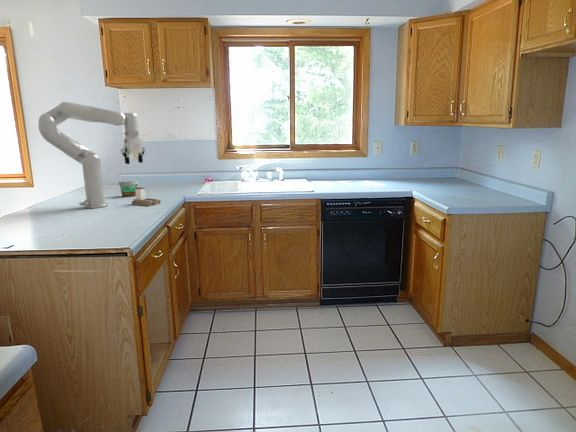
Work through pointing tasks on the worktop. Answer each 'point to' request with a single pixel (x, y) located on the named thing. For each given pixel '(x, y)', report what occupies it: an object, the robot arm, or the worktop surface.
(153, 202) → the rail board
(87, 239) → the worktop surface
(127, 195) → the food container
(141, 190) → the slider tab
